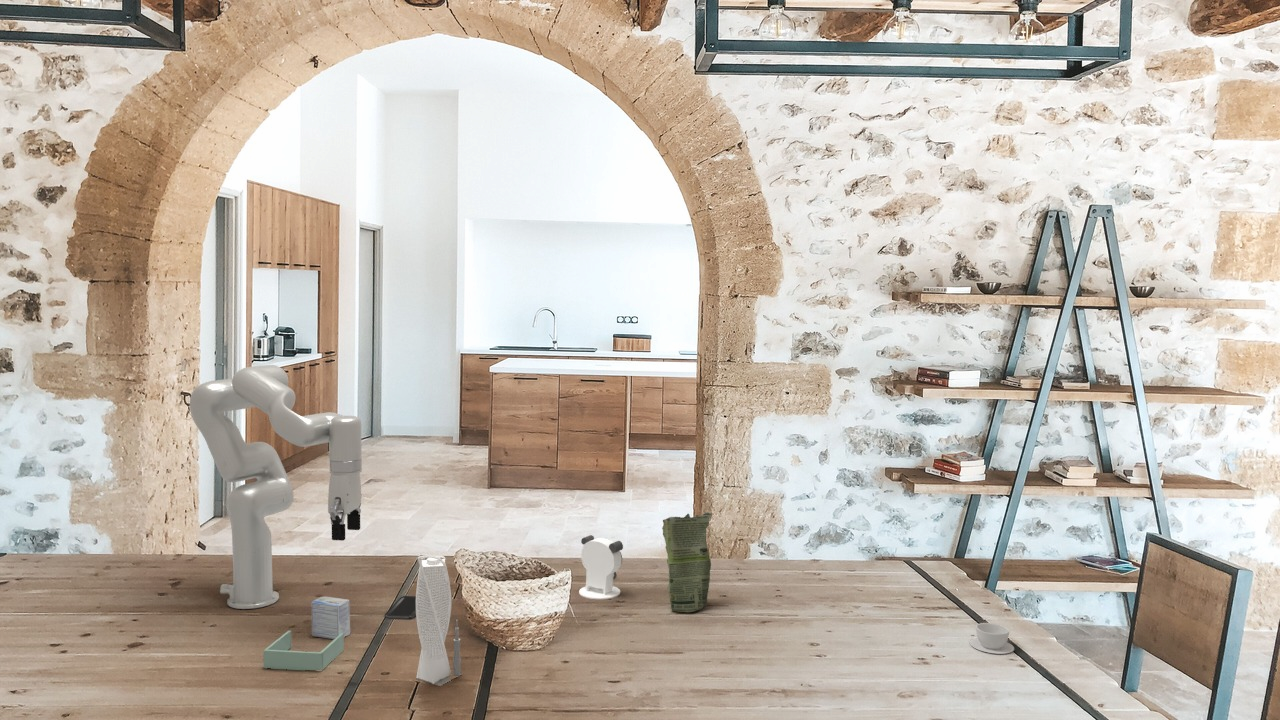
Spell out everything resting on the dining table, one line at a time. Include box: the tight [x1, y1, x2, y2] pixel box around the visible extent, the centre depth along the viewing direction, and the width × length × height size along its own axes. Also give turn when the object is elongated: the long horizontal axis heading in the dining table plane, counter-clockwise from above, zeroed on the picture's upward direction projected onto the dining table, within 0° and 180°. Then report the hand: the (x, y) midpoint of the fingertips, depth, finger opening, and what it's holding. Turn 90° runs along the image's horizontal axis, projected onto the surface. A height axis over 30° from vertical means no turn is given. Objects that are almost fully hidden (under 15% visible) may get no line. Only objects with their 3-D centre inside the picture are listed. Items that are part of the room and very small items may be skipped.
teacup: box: [969, 622, 1015, 655], centre depth 222 cm, size 10×10×5 cm
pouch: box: [661, 511, 712, 613], centre depth 246 cm, size 11×12×25 cm
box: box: [262, 630, 345, 671], centre depth 209 cm, size 13×12×4 cm
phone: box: [384, 595, 416, 621], centre depth 242 cm, size 8×1×15 cm
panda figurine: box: [578, 534, 624, 600], centre depth 256 cm, size 12×11×15 cm
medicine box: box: [311, 596, 351, 640], centre depth 223 cm, size 8×4×9 cm, turn 71°
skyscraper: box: [415, 554, 462, 687], centre depth 200 cm, size 8×8×28 cm
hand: (346, 534), depth 231 cm, fingers open, 9 cm apart
